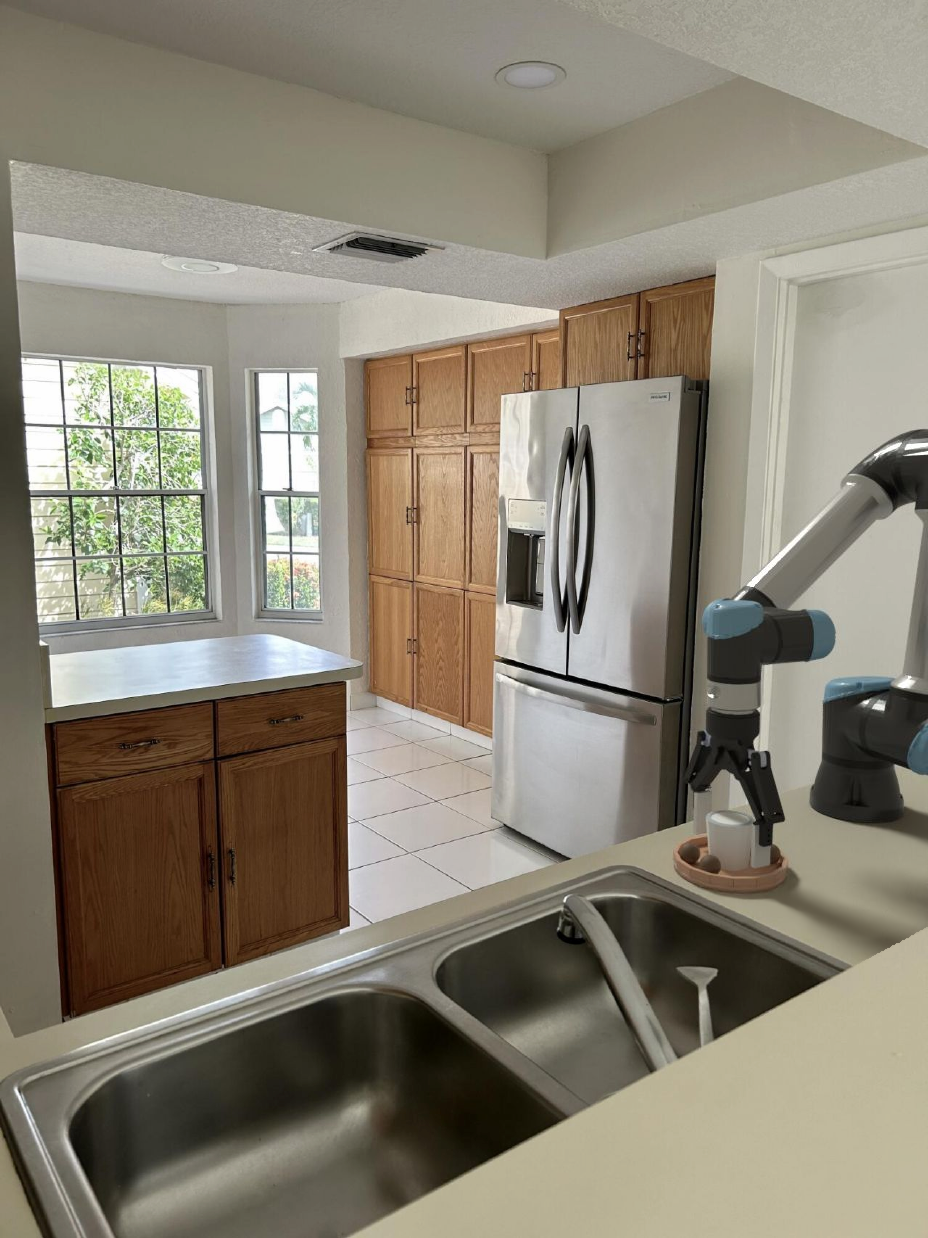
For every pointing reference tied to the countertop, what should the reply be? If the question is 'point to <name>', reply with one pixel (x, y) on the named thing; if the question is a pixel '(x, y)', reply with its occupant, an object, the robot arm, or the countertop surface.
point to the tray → (730, 872)
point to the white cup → (730, 838)
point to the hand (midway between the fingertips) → (729, 848)
